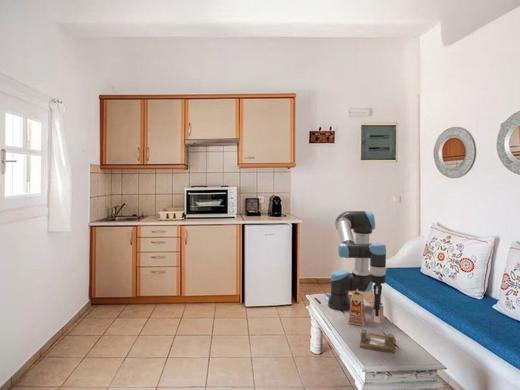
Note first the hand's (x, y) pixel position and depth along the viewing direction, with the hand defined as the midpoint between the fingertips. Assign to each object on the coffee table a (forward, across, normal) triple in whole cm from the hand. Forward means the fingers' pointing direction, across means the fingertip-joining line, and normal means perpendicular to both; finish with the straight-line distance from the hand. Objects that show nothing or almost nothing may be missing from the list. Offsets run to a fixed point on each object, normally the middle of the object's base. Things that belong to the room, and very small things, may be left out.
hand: (377, 319), depth 170 cm
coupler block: (0, 0, 0) cm, 0 cm away
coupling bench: (+13, +2, 0) cm, 13 cm away
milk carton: (+13, +26, +13) cm, 32 cm away
